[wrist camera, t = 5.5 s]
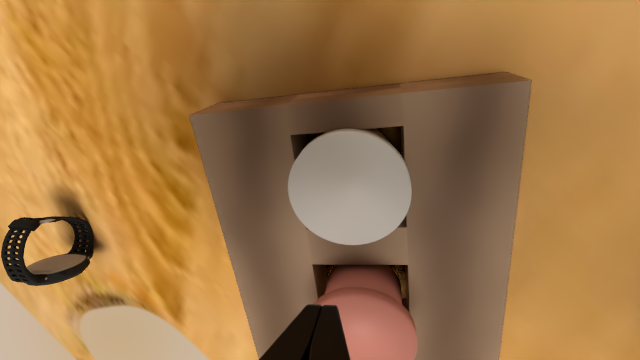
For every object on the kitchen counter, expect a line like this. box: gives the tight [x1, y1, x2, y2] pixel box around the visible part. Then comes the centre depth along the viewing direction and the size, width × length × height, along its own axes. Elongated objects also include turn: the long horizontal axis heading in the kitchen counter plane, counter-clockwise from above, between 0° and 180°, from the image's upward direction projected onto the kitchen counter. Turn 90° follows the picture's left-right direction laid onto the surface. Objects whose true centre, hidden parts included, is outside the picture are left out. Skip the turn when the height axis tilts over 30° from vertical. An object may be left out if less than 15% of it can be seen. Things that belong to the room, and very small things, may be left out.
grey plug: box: [288, 128, 412, 245], centre depth 17 cm, size 6×6×4 cm
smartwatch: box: [1, 216, 94, 286], centre depth 22 cm, size 4×5×5 cm
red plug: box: [314, 265, 418, 360], centre depth 18 cm, size 6×6×4 cm
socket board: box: [189, 72, 532, 360], centre depth 20 cm, size 15×23×3 cm, turn 7°
